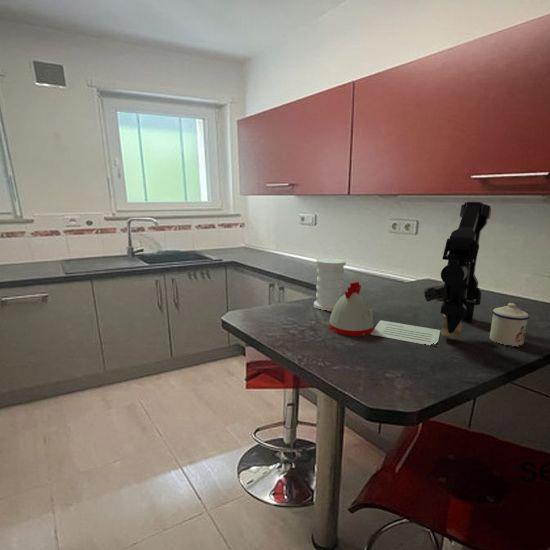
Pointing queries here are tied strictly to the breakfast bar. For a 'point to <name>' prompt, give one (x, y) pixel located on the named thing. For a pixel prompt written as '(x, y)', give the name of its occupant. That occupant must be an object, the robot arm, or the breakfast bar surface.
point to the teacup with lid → (508, 325)
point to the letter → (406, 332)
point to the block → (445, 329)
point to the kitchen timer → (351, 314)
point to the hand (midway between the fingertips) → (450, 330)
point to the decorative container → (329, 282)
